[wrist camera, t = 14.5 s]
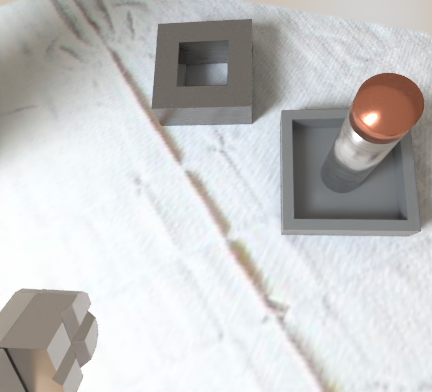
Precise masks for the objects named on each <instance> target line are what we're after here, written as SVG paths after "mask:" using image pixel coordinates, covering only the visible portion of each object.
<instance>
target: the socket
mask: <svg viewBox="0 0 432 392" xmlns="http://www.w3.org/2000/svg"><path fill="white" fill-rule="evenodd" d="M252 52H253V41H252V19H246V20H226V21H207V22H187V23H168V24H158V35H157V48H156V60H155V73H154V86H153V99H152V110H153V112H154V114H155V115H156V117H157V119H158V121H159V122H160V124H161V126H174V125H223V124H252ZM211 63H228V76H227V85H217V86H186V87H185V77H186V64H211Z"/></svg>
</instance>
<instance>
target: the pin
mask: <svg viewBox="0 0 432 392" xmlns="http://www.w3.org/2000/svg"><path fill="white" fill-rule="evenodd" d="M423 109H424V99H423V95H422V93H421V91H420V89H419V88H418V86H417V85H416V84H415V83H414V82H413V81H411V80H410V79H408V78H407V77H405V76H402V75H399V74H394V73H382V74H378V75H375V76H373V77H371V78H369V79H368V80H366V81H365V82H364V83H363V84H362V85H361V87H360V88H359V90H358V92H357V94H356V97H355V99H354V101H353V103H352V105H351V107H350V109H349V111H348V113H347V115H346V117H345V120H344V122H343V124H342V126H341V128H340V130H339V132H338V134H337V136H336V138H335V140H334V143H333V145H332V147H331V149H330V151H329V153H328V155H327V157H326V159H325V161H324V164H323V166H322V168H321V178H322V181H323V183H324V184H325V186H326V187H327V188H329V189H330V190H332V191H334V192H337V193H348V192H351V191H353V190H354V189H356V188H357V187H358V186H359V185H360V184H361V182H362V181H363V180H364V179H365V178H366V177H367V176H368V175H369V174H370V173H371V171H372V170H373V169H374V168H375V167H376V166H377V165H378V164H379V163H380V162H381V161H382V159H383V158H384V157H385V156H386V155H387V154H388V153H389V152H390V151H391V150H392V148H393V147H394V146H395V145H396V144H397V143H398V142H399V141H400V140H401V139H402V137H403V136H404V135H405V134H406V133H407V132H408V131H409V130H410V129H411V128H412V126H413V125H414V124H415V123H416V122H417V121H418V120H419V118H420V117H421V115H422V113H423Z"/></svg>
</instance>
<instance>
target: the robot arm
mask: <svg viewBox="0 0 432 392" xmlns="http://www.w3.org/2000/svg"><path fill="white" fill-rule="evenodd" d="M90 305H91V302H90V299H89V296H88V294H87V293H85V292H81V291H64V290H46V289H42V290H39V289H21V290H19V291H17V292H15V293H14V295H13V296H12V297H11V299H10V300H9V301H8V303H7V304H6V305H5V306H4V308H3V309H2V310H1V312H0V392H77V390H78V388H79V386H80V383H81V381H82V379H83V374H82V371H81V367H82V366H83V365H84V364H86V363H87V362H88V361H89V360H91V358H92V356H93V353H94V351H95V348H96V344H97V338H98V325H97V321H96V318H95V317H94V316H93V315H92V314H91V313H90V312H88V309H89V307H90Z"/></svg>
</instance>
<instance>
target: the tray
mask: <svg viewBox="0 0 432 392" xmlns="http://www.w3.org/2000/svg"><path fill="white" fill-rule="evenodd" d="M348 111H349V109H316V110H282V111H281V120H280V155H281V235H350V236H410V235H413V234H415V233H418V232H420V231H421V226H420V216H419V206H418V197H417V187H416V177H415V168H414V158H413V148H412V139H411V129H410V130H409V131H408V132H407V133H406V134H405V135H404V136H403V137H402V139H401V140H400V141H399V142H398V143H397V144H396V145H395V146H394V147H393V148H392V150H391V151H390V152H389V153H388V154H387V155H386V156H385V157H384V158H383V159H382V161H381V162H380V163H379V164H378V165H377V166H376V167H375V168H374V169H373V170H372V171H371V173H370V174H369V175H368V176H367V177H366V178H365V179H364V180H363V181H362V182H361V184H360V185H359V186H358V187H357V188H356V189H354V190H353V191H351V192H348V193H337V192H334V191H332V190H330V189H329V188H327V187H326V186H325V184H324V183H323V181H322V178H321V168H322V166H323V164H324V161H325V159H326V157H327V155H328V153H329V151H330V149H331V147H332V145H333V143H334V140H335V138H336V136H337V134H338V132H339V130H340V128H341V126H342V124H343V122H344V120H345V117H346V115H347V113H348Z"/></svg>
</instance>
